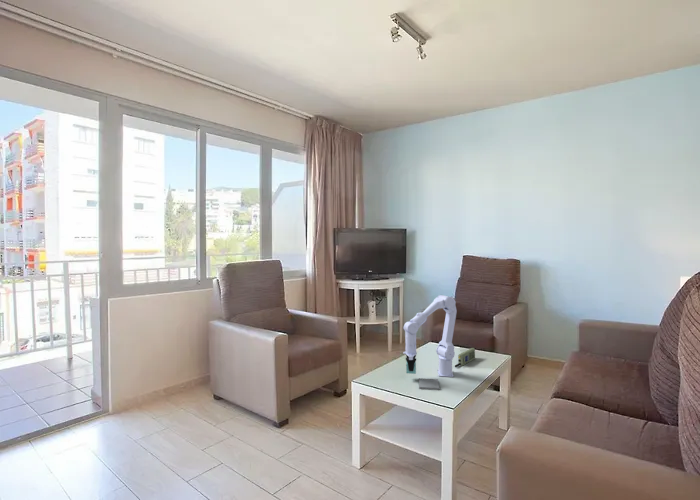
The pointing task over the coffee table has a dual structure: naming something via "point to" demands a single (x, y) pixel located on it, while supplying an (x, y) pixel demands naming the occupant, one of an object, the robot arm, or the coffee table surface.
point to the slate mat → (428, 384)
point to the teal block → (410, 371)
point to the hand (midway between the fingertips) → (411, 369)
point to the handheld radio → (466, 357)
